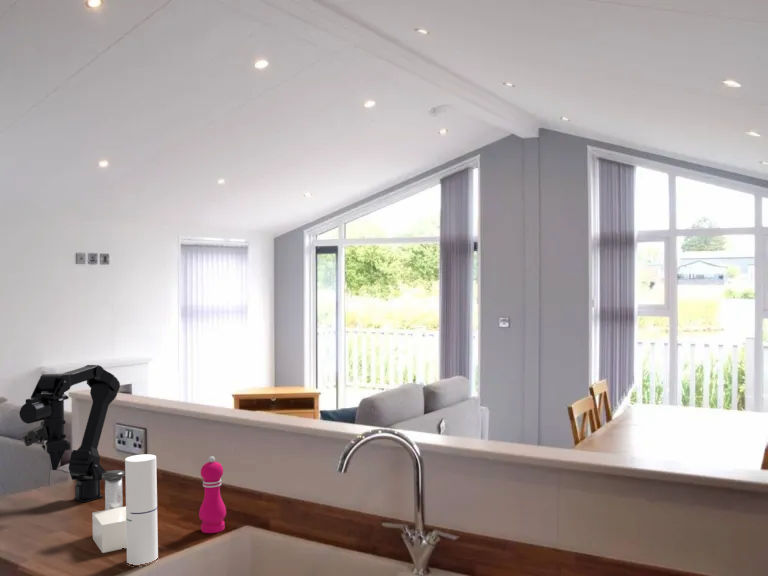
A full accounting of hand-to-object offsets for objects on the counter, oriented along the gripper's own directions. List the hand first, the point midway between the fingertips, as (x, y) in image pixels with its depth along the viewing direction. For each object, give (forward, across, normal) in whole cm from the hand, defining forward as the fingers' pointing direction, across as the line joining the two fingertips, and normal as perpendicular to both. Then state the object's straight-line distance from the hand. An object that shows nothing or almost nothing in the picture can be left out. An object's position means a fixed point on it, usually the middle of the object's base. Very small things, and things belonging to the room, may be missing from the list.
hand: (54, 470), depth 206 cm
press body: (+13, +34, +11) cm, 38 cm away
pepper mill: (+13, +40, +34) cm, 54 cm away
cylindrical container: (+13, +51, +12) cm, 54 cm away
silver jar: (+13, +30, +11) cm, 34 cm away
